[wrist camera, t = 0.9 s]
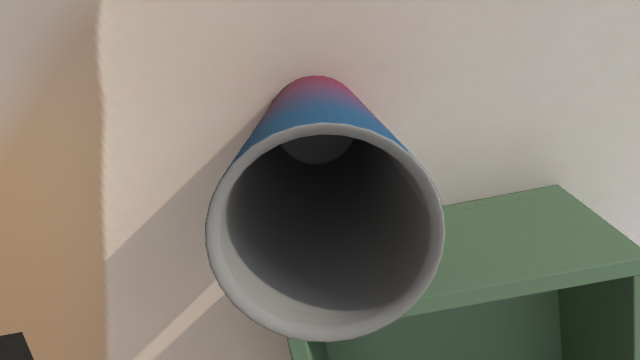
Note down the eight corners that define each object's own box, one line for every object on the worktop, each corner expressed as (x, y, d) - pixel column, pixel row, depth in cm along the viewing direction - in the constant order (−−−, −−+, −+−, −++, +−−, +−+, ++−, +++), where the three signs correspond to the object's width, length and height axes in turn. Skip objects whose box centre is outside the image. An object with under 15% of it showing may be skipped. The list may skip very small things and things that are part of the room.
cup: (271, 194, 31) (243, 364, 17) (237, 75, 29) (171, 156, 15) (389, 165, 31) (463, 315, 17) (363, 44, 29) (422, 94, 14)
